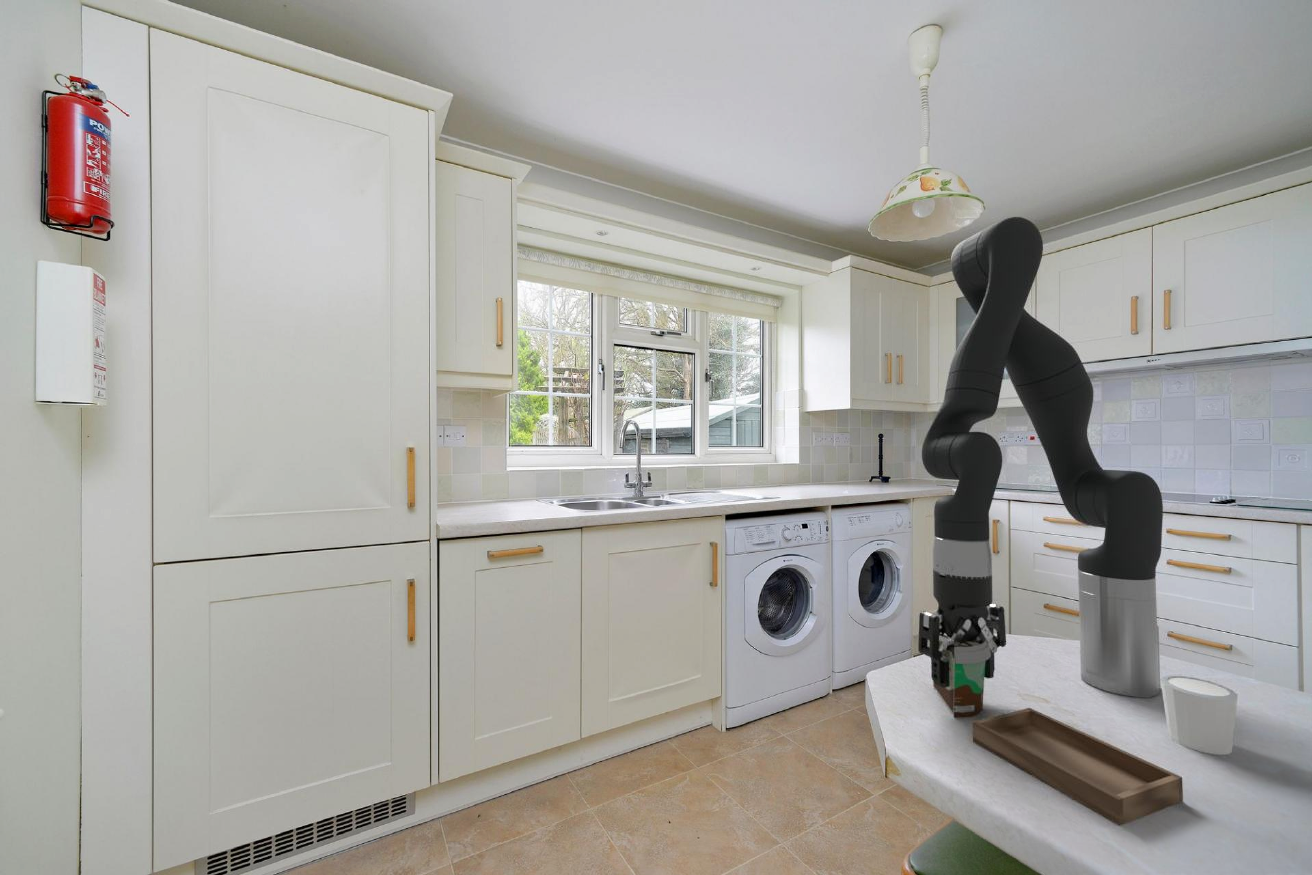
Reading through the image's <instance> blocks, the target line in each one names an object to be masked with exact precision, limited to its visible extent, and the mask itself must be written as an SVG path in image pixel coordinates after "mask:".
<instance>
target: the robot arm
mask: <svg viewBox="0 0 1312 875" xmlns="http://www.w3.org/2000/svg"><path fill="white" fill-rule="evenodd" d="M1043 242H1044V241H1043V236H1042V234H1041V232H1040V229H1039V228H1038V227H1037V226H1036V225H1035V224H1034V223H1033V222H1032V221H1031V220H1030V219H1027V218H1024V217H1022V216H1012V217H1008V218H1004V219H1002V220H1000V221H997V222H995V223H993V224H991V225H989V226H988V227H986V228H983V229H982V230H980V231H979V232H977V233H974V234H973V235H971V236H969V237H967V238H965V239H964V240H962V241H961V242H959V243H958V244H957V245H956V246H955V248H954V249H953V250H952V253H951V258H950V268H951V272H952V276H953V279H954V281H955V283H956V285H957V287H958V289H959V290H960V292H961V293H962V296H964V298H965V300H966V301H967V303H968V304H969V306H970V307H971V309H972V310H973V312H974V314H975V315H976V316H975V318H974V319H973V321H972V323H971V324H970V326H969V328H968V329H967V331H966V333H965V335H964V337H963V338H962V340H961V341H960V343H959V344H958V347H957V349H956V350H955V352H954V355H953V357H952V360H951V362H950V366H949V367H950V368H949V372H948V376H947V380H946V385H945V392H944V397H943V402H942V403H941V406H940V407H939V409H938V410H937V412H936V413H935V416H934V418H933V420H932V423H931V425H930V426H929V428H928V431H927V433H926V435H925V437H924V440H923V443H922V449H921V459H922V460H921V461H922V464H923V467H924V468H925V470H926V472H927V473H928V474H929V475H930V476H932V477H934V478H937V479H940V480H949V481H950V480H951V481H954V480H955V481H958V484H957V486H956V489H955V492H954V494H952V495H948V496H943V497H939V498H938V499H937V500H936V501H935V503H934V509H933V516H934V517H933V519H934V520H933V521H934V525H933V526H934V527H933V528H934V531H933V532H934V539H933V547H932V582H933V583H932V590H933V592H932V593H933V594H932V595H933V597H934V598H935V600H936V601H937V604H938V606H937V610H936V612H932V613H931V612H926V611H921V612H919V616H918V617H919V619H918V620H919V621H918V622H919V623H918V643H917V644H918V645H917V646H918V648H917V649H918V653H920V654H922V655H923V656H924V655H925V656H927V657H929V658H930V662H931V663H930V664H931V666H930V667H931V669H930V670H931V672H930V674H931V679H932V682H933V681H934V683H935V684H937V685H939V686H941V687H943V688H946V687H949V662H948V661H947V660H948V658H949V656H950V647H958V646H959V644H960V642H965V641H967V640H969V639H970V640H977V637H978V636H979V635H980V634H981V635H982V636H985V638H986V641H987V642H988V644H989V648H990V652H991V657H990V658H989V659H988V660H986V661H985V676H984V679H985V678H986V679H989V680H990V679H993V678H994V676H995V675H994V673H995V669H996V668H995V654H996V653H997V652H998V648H1000V647H1002V648H1004V647H1006V645H1007V634H1006V631H1007V630H1006V619H1005V616H1006V615H1005V608H1004V606H1001V605H998V604H994V603H993V556H992V549H991V544H990V541H991V540H990V515H989V514H990V510H991V506H992V503H993V500H994V496H995V492H996V489H997V485H998V482H999V479H1000V476H1001V472H1002V467H1003V454H1002V449H1001V447H1000V445H999V443H998V442H997V440H996V438H995V437H994V436H992V435H991V434H989V433H986V432H982V431H971V429H972V428H973V426H974V425H975V424H976V423H979V422H982V421H984V420H987V419H989V418H992V417H993V416H994V415H995V414H996V411H997V409H998V406H999V401H1000V400H999V399H1000V395H1001V391H1002V384H1003V379H1004V373H1005V370H1006V372H1007V374H1008V378H1009V380H1010V382H1011V384H1012V386H1013V388H1014V391H1015V392H1016V394H1017V397H1018V399H1019V401H1020V403H1021V404H1022V406H1023V408H1024V409H1025V412H1026V413H1027V415H1028V417H1029V420H1030V422H1031V423H1032V426H1033V429H1034V431H1035V433H1036V435H1037V437H1038V439H1039V442H1040V444H1041V446H1042V449H1043V451H1044V453H1045V455H1046V458H1047V460H1048V463H1049V467H1050V469H1051V472H1052V475H1053V478H1054V481H1055V484H1056V488H1057V490H1058V494H1059V496H1060V498H1061V502H1062V503H1063V506H1064V508H1065V509H1066V511H1067V512H1068V514H1069V515H1070V516H1071V517H1072V518H1073V519H1074V520H1076V521H1077V522H1079V523H1081V524H1083V525H1087V526H1091V527H1097V528H1102V529H1104V538H1103V541H1102V543H1101V544H1100V545H1099V546H1097V547H1094V548H1088V549H1083V550H1081V551H1080V552H1079V553H1078V556H1077V575H1078V576H1077V577H1078V578H1077V579H1078V581H1077V582H1078V609H1079V610H1078V614H1079V619H1078V620H1079V647H1080V648H1079V649H1080V650H1079V654H1080V655H1079V657H1080V677H1081V679H1082V680H1083V681H1084V682H1085V683H1087V684H1089V685H1091V686H1093V687H1095V688H1098V689H1100V690H1104V691H1106V692H1110V693H1114V694H1118V695H1121V696H1127V697H1128V696H1129V697H1137V698H1149V697H1151V698H1152V697H1155V696H1157V695H1159V692H1160V688H1161V667H1160V666H1161V664H1160V659H1161V658H1160V628H1159V625H1158V613H1157V611H1158V610H1157V587H1156V586H1157V584H1156V583H1157V581H1156V576H1157V574H1156V573H1157V570H1156V569H1157V566H1158V563H1159V560H1160V558H1161V554H1162V538H1163V536H1162V535H1163V519H1164V518H1163V517H1164V511H1163V510H1164V506H1163V505H1164V503H1163V497H1162V492H1161V489H1160V486H1159V485H1158V483H1157V482H1156V480H1155V479H1153V477H1151V476H1150V475H1148V474H1147V473H1144V472H1143V471H1142V472H1141V471H1136V470H1121V469H1120V470H1119V469H1117V470H1116V469H1103V467H1102V466H1101V465H1100V464H1099V462H1098V460H1097V458H1096V457H1095V454H1094V452H1093V450H1092V448H1091V445H1090V442H1089V438H1088V429H1089V428H1088V427H1089V424H1090V422H1089V421H1090V419H1091V413H1092V409H1093V403H1094V387H1093V383H1092V381H1091V378H1090V377H1089V374H1088V371H1087V370H1086V369H1085V366H1084V364H1083V362H1082V360H1081V358H1080V355H1079V354H1078V352H1077V351H1076V349H1075V348H1074V347H1073V345H1071V344H1070V343H1069V342H1068V341H1067V340H1066V339H1064V338H1063V337H1062V336H1060V335H1059V334H1058V333H1056V332H1055V331H1054V330H1052V329H1051V328H1049V327H1048V326H1046V325H1045V324H1043V323H1042V322H1040V321H1039V320H1038V319H1036V318H1035V317H1033V316H1032V315H1031V314H1030V313H1029V312H1028V311H1027V310H1026V309H1025V306H1026V303H1027V300H1028V298H1029V295H1030V292H1031V290H1032V287H1033V284H1034V282H1035V279H1036V276H1037V274H1038V271H1039V269H1040V265H1041V263H1042V257H1043V251H1044V243H1043ZM994 630H995V631H996V635H995V633H994ZM944 633H945V634H946V635H947V636H948V637H949V638H950V639H947V638H945V637H943V635H944ZM928 641H929V642H928ZM928 643H929V646H928ZM943 644H944V647H943V649H942V651H939V649H940V647H941V645H943Z"/></svg>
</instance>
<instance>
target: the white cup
mask: <svg viewBox="0 0 1312 875" xmlns="http://www.w3.org/2000/svg"><path fill="white" fill-rule="evenodd" d="M1160 688H1161V693H1162V694H1161V695H1162V700H1163V705H1164V706H1163V707H1164V712H1165V714H1164V715H1165V721H1166V726H1167V727H1166V728H1167V734H1168V737H1169V738H1170V739H1171V740H1173V741H1174V742H1176V743H1177V744H1179V745H1182V746H1184V747H1186V748H1188V749H1192V750H1195V751H1198V752H1200V753H1205V754H1211V755H1218V756H1219V755H1220V756H1227V755H1230V754H1232V752H1233V742H1234V735H1235V726H1236V714H1237V704H1238V696H1239V694H1238V693H1236V692H1235V691H1234V690H1233V689H1231V688H1229V687H1226V686H1224V685H1222V684H1219V683H1216V682H1212V681H1210V680H1205V679H1200V678H1197V677H1191V676H1185V675H1165V676H1162V677H1160Z"/></svg>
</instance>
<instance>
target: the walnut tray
mask: <svg viewBox="0 0 1312 875" xmlns="http://www.w3.org/2000/svg"><path fill="white" fill-rule="evenodd" d="M972 742H973V743H974V744H976V745H978V746H980V747H982V748H983V749H985V750H987V751H988V752H990V753H992V754H994V755H995V756H997V757H999V758H1000V759H1003V761H1006V762H1008V763H1009V764H1011V765H1013V766H1015V767H1016V768H1018V769H1020V770H1021V771H1024V772H1025V773H1027V774H1028V775H1030V776H1032V777H1034V778H1036V779H1037V780H1040V781H1041V782H1042V783H1043V784H1046V785H1048V786H1049V787H1052V789H1055V790H1056V791H1058V792H1060V793H1062V794H1063V795H1065V796H1067V797H1068V798H1071V799H1073V800H1074V801H1076V802H1077V803H1079V804H1081V805H1083V806H1085V807H1086V808H1088V809H1090V810H1091V811H1093V812H1095V813H1097V814H1099V815H1100V816H1102V817H1104V818H1106V819H1107V820H1109V821H1110V822H1112V823H1114V824H1116V825H1118V826H1122V825H1125V824H1127V823H1130V822H1133V821H1135V820H1138V819H1140V818H1143V817H1145V816H1148V815H1151V814H1153V813H1157V812H1159V811H1161V810H1164V809H1166V808H1169V807H1171V806H1174V805H1177V804H1180V803H1183V802H1184V797H1183V796H1184V792H1183V791H1184V790H1183V786H1184V785H1183V777H1182V776H1181V775H1178V774H1177V773H1175V772H1171V771H1170V770H1168V769H1165V768H1163V767H1160V766H1158V765H1156V764H1154V763H1152V762H1149V761H1147V760H1146V759H1143V758H1141V757H1139V756H1137V755H1134V754H1132V753H1130V752H1128V751H1126V750H1124V749H1121V748H1119V747H1117V746H1115V745H1112V744H1110V743H1108V742H1106V741H1104V740H1101V739H1099V738H1097V737H1095V736H1092V735H1091V734H1088V733H1085V732H1084V731H1081V730H1080V729H1077V728H1075V727H1073V726H1070V725H1068V724H1066V723H1064V722H1062V721H1059V720H1057V719H1055V718H1053V717H1051V716H1048V715H1046V714H1045V713H1042V712H1039V711H1038V710H1036V709H1033V708H1031V707H1027V708H1022V709H1018V710H1015V711H1011V712H1007V713H1003V714H999V715H994V716H991V717H987V718H982V719H979V720H975V721H972Z"/></svg>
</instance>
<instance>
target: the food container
mask: <svg viewBox="0 0 1312 875" xmlns="http://www.w3.org/2000/svg"><path fill="white" fill-rule="evenodd" d="M943 637H945V638H947V639H950V638H949V637H948V636H947V635H946V634H945V633H944V635H943ZM943 647H944V644H943V645H941V647H940V649H939V651H942V649H943ZM990 657H991V652H990V648H989V644H988V642H987V641H986V638H985V636H982V635H981V634H980V635H979V636H978V637H977V640H970V639H969V640H967V641H965V642H960V644H959V646H958V647H950V656H949V658H948V660H947V661H948V662H949V687H946V688H943V687H941V686H939V685H937V684H935V683H934V681H933V680H932V684H933V685H932V686H933V687H934V688H933V689H934V691H935V690H936V691H937V692H936V691H935V692H936V694H937V693H938V694H937V695H938V696H939V698H940V699H941V701H942V703H943V704H944V705H945V707H946V708H947V709H948V711H949V713H950V714H951V715H952V717H953V718H963V719H964V718H971V717H975V716H978V715H980V714H981V713H982V711H983V709H984V708H983V705H984V688H985V677H984V676H985V661H986V660H988V659H989V658H990Z"/></svg>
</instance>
